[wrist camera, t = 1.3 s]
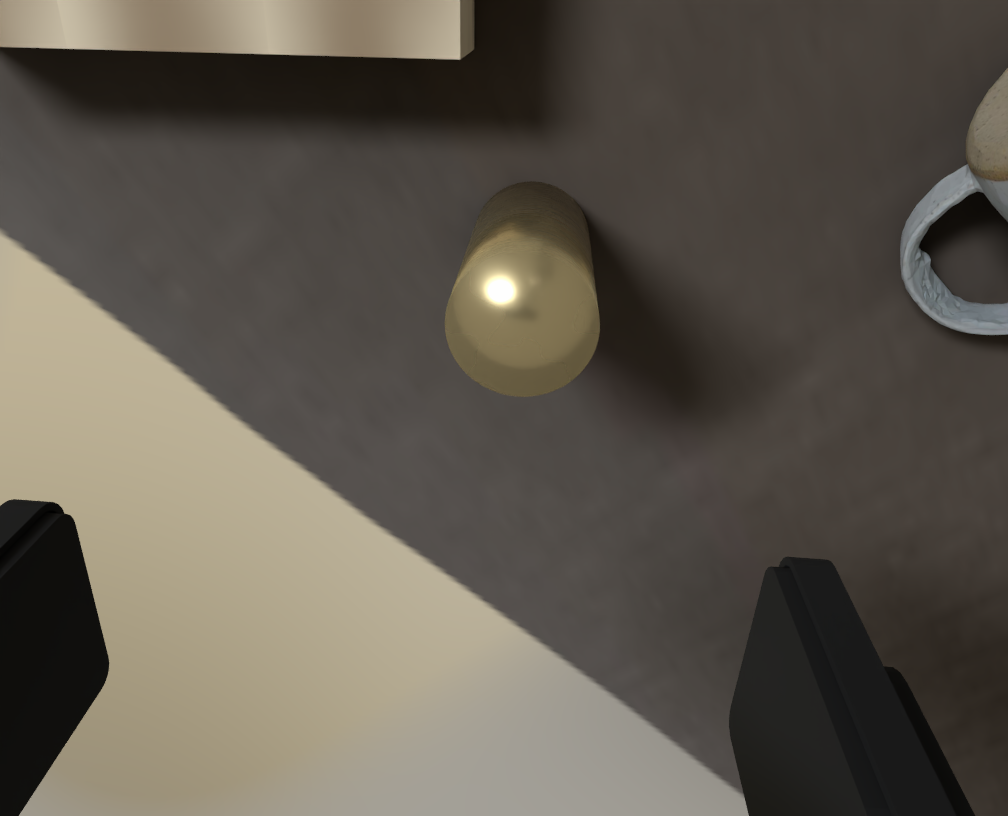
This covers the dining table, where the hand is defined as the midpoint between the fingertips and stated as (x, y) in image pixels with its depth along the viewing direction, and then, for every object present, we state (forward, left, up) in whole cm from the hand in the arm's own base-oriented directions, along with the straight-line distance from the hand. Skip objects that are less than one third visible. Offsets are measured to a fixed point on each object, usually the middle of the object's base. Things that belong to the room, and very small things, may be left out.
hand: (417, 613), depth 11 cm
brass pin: (-1, 0, -19) cm, 19 cm away
